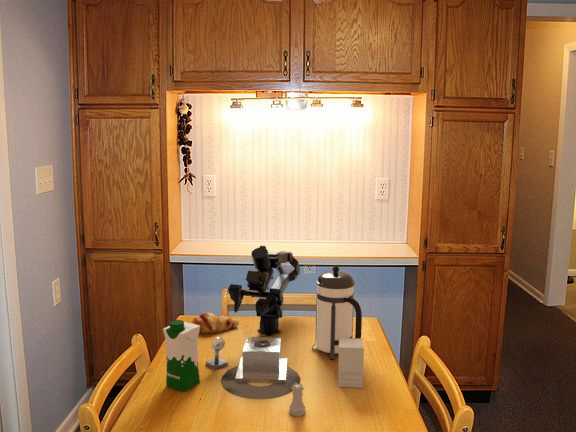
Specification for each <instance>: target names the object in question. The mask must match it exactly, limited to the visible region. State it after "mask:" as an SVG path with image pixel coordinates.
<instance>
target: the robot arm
mask: <svg viewBox="0 0 576 432" xmlns="http://www.w3.org/2000/svg"><path fill="white" fill-rule="evenodd" d="M250 255H251V257H252V262H253V267H254V269H255V270H248V271H247V272H246V273H247V274H246V277H245V281H246V282H247V284H246V286H247V288H248V289H247V288H243V287H242V284H236V283H231V284H229V286H228V287H227V291H228V294H229V297H230V299H231V300H232V301H233V303H234V304H233V305H234V306H233V311H234V313H235V314H236V313H237V312H238V311H239V308H240V307H241V305H242V303H243V299H244V297H245V296H246V297H251V298H254V299H257V300H256V301H255V313H256V317H260V321H259V329H257V332H259V334H260V333H261V334H263V335H265V336H266V337H270V336H273V335H277V334H279V333H282V330H281V329H280V328H279V319H282V318H283V307H282V306H283V304H284V301H285V299H284V292H285V290H286V288H287V287H288V285H289V284H290V283H291V282H293V281H296V279H297V278H298V277H299V275H300V273H301V269H300V268H301V266H300V264H299V261H298V260H297V259H296V258H295V257H294V254H293V252H291V251H285V250H281V251H279V252H271V251H270V252H269V250H268V249H267V246H266V245H260V246H259V247H257V248H254V250H252V251H251V254H250ZM274 269H276V271H277V277H276V279H275V280H274V282H273V284H272V286H271V287H270V286H269V285H270V282H271V280H273V279H274Z"/></svg>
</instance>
